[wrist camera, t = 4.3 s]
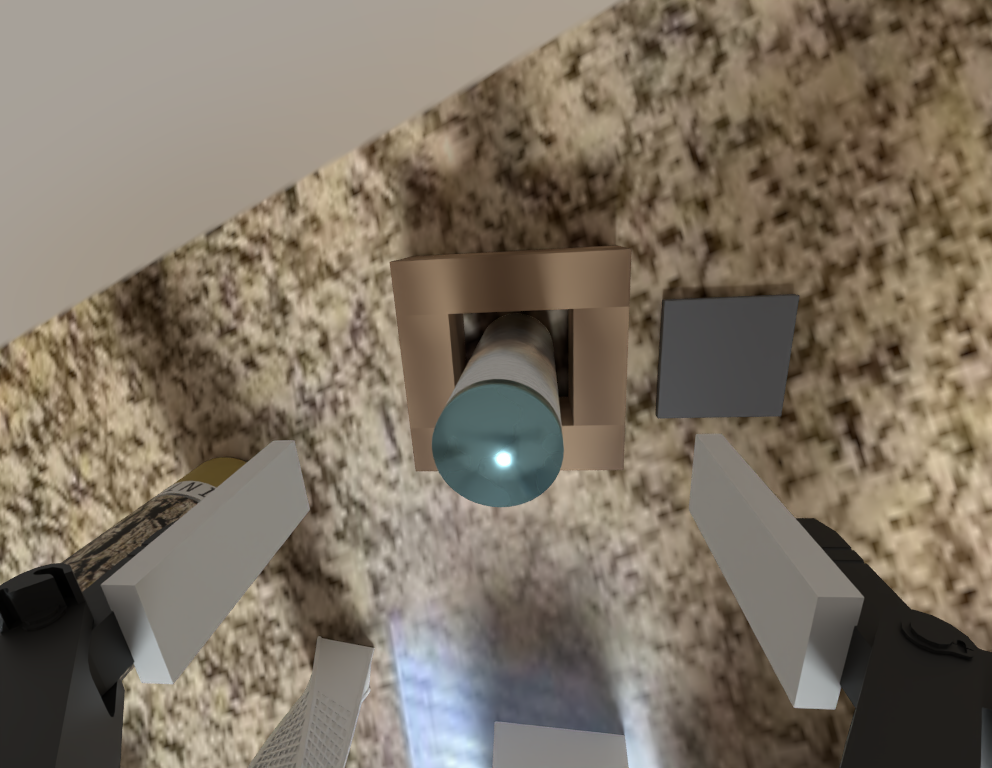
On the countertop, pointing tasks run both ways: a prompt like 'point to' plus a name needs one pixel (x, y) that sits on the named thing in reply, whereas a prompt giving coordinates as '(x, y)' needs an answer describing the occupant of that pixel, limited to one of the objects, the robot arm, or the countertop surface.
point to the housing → (520, 287)
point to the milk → (556, 748)
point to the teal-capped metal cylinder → (503, 417)
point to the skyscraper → (322, 711)
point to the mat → (725, 356)
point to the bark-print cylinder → (149, 521)
